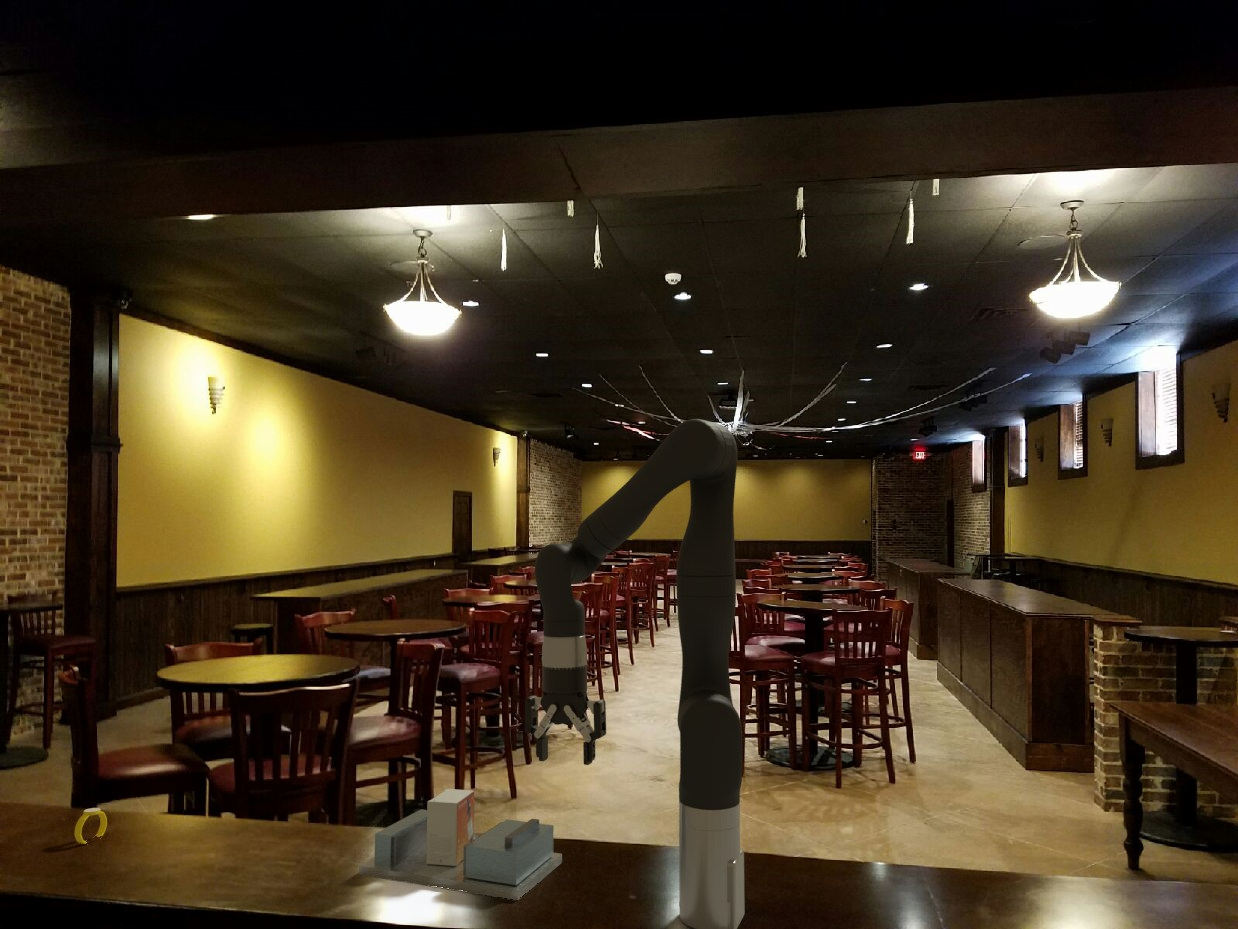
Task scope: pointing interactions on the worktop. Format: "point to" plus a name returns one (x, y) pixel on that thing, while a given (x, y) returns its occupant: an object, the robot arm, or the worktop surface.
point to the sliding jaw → (508, 851)
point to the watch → (82, 819)
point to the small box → (449, 826)
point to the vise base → (407, 862)
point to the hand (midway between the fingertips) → (565, 762)
